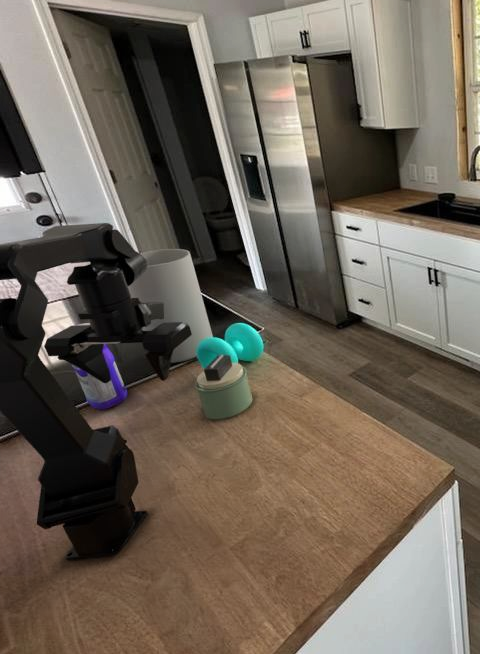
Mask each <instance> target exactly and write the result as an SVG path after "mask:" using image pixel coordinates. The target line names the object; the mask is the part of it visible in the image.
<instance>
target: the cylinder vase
mask: <svg viewBox="0 0 480 654" xmlns="http://www.w3.org/2000/svg"><path fill="white" fill-rule="evenodd" d="M139 253H140V252H139ZM140 254H141V255H142V256H143V257H144V258H145V259H146V261H147V269H146V271H145V272H144V273H143V274H142V275H141V276H140V277H139V278H138V279H136V280H135V281H134V282H133V283H132V284H131V285H130V286H128V289H129V292H130V295H131V298H139V299H140V300H141V303H145V302H164V319H155V320H150V321H151V324H150V325H148V326H147V327H143V328H142V331H151V330H153V329H154V328H156V327H157V326H159V325H160V324H162V323H171V322H184V323H186V324H188V325H189V326H190V329H191V333H192V335H191V336H190V337H189V338H187V339H186V340H185V341H184V342H183V343H181V344H180V345H179V346H178V347H176V348H175V349H174V351H173V354H172V358H171V363H170V364H176V363H182V362H187V361H189V360H193V359H195V358H197V352H196V351H197V346H198V344H199V343H200V342H201V341H202V340H203V339H205V338H209V337H214V335H213V333H212V332H213V331H212V328H211V324H210V320H209V316H208V313H207V309H206V306H205V303H204V299H203V296H202V292H201V288H200V285H199V281H198V277H197V273H196V270H195V266H194V263H193V258H192V255H191V251H189V250H187V249H183V248H167V249H156V250H151V251H144V252H141V253H140Z"/></svg>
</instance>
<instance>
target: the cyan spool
mask: <svg viewBox="0 0 480 654" xmlns="http://www.w3.org/2000/svg"><path fill="white" fill-rule="evenodd" d="M196 352H197V357H196V358H197V360H198V362H199V364H200V365H201V367H202V369H203V370H204V369H205V368H206V367H207V366H208V365H209V364H210V363H211V362H212V361H213V360H214V359H215V358H216V356H221V355H230V358H231V362H232V363H238V364H239V360H241V361H243V362H253V361H256V360H258V359H259V358H261V356H262V354H263V352H264V342H263V339H262V337H261V335H260V333H259V332H258V330H256V329H255V328H254V327H252V325H249V324H247V323H244V322H236V323H232V324H231V325H229V326H228V327H227V329H226V330H225V333H224V339H222V338H219V337H216V336H213V337H209V338H205V339H203V340H202V341H201V342H200V343H199V344H198V346H197V351H196Z"/></svg>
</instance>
